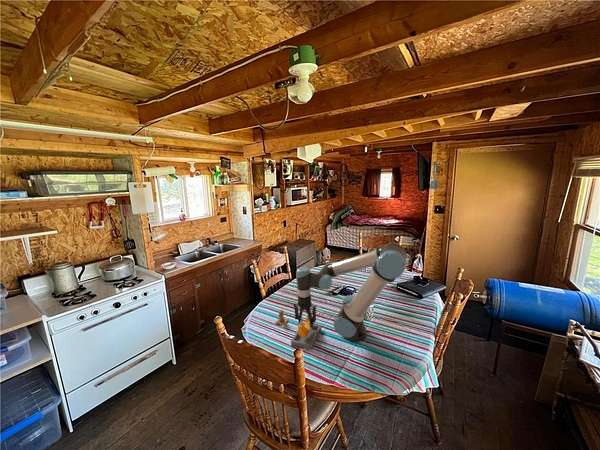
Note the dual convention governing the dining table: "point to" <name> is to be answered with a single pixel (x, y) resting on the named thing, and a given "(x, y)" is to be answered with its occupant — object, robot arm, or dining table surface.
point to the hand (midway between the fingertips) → (306, 330)
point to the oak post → (281, 318)
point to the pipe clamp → (304, 328)
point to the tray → (306, 338)
